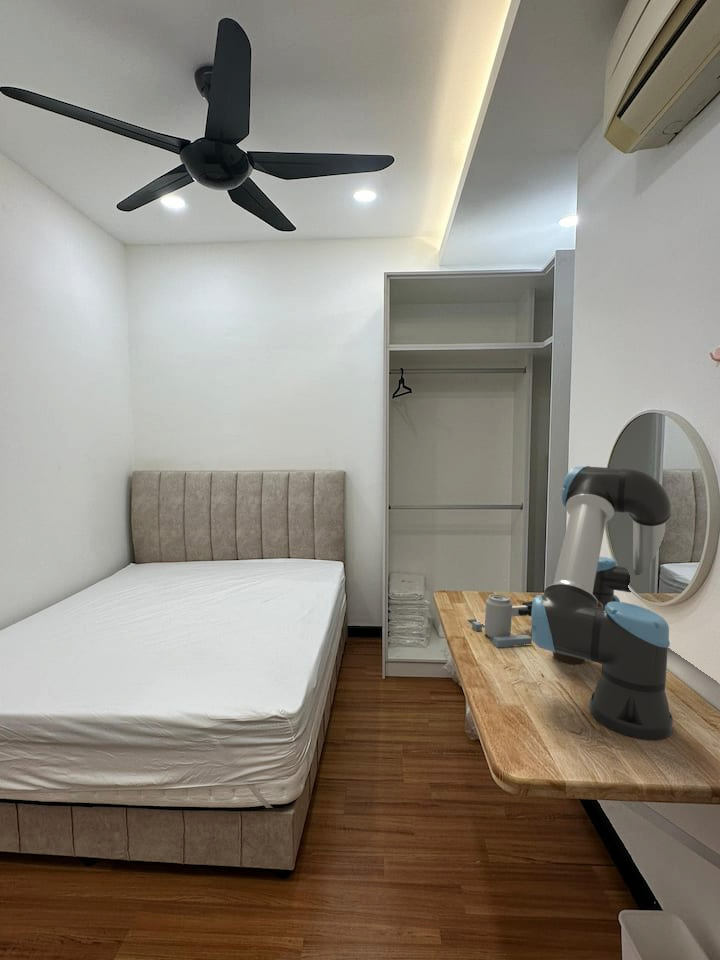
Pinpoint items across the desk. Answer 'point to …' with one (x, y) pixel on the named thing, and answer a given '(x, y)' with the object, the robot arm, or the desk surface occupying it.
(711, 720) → the desk surface
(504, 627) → the can
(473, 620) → the trap square
